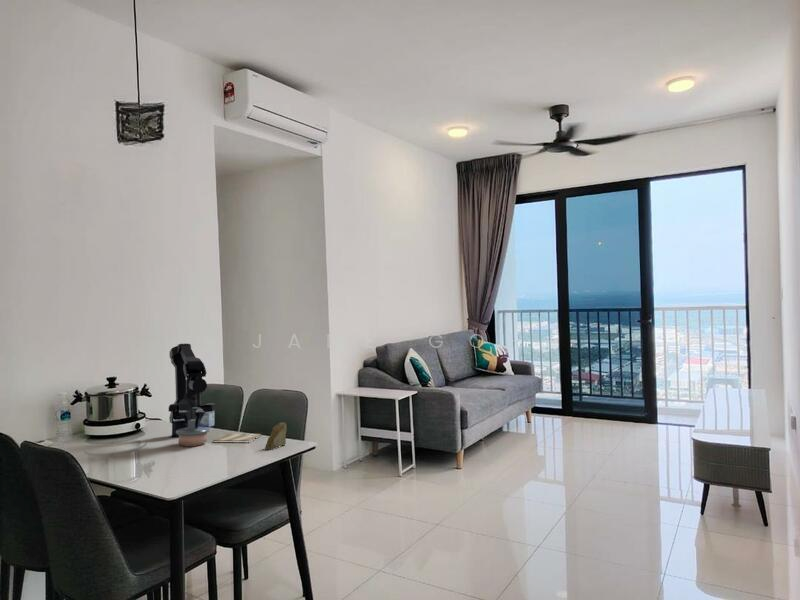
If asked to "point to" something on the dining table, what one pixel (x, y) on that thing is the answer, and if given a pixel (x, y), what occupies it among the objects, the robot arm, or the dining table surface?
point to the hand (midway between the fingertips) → (192, 428)
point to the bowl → (192, 439)
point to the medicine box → (207, 419)
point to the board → (236, 437)
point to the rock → (277, 436)
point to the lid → (192, 429)
